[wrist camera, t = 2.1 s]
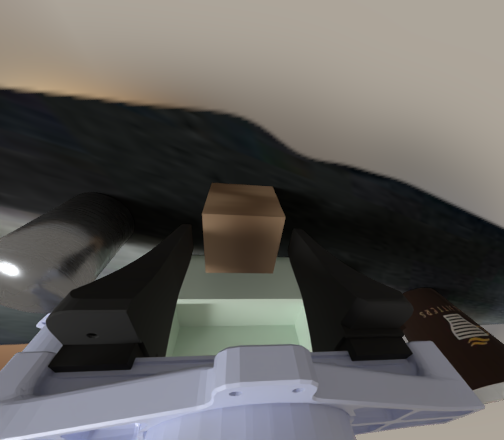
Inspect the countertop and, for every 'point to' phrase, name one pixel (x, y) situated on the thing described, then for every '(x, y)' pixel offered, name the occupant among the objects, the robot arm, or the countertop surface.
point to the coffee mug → (458, 342)
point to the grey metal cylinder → (61, 251)
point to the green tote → (237, 310)
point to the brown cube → (241, 229)
